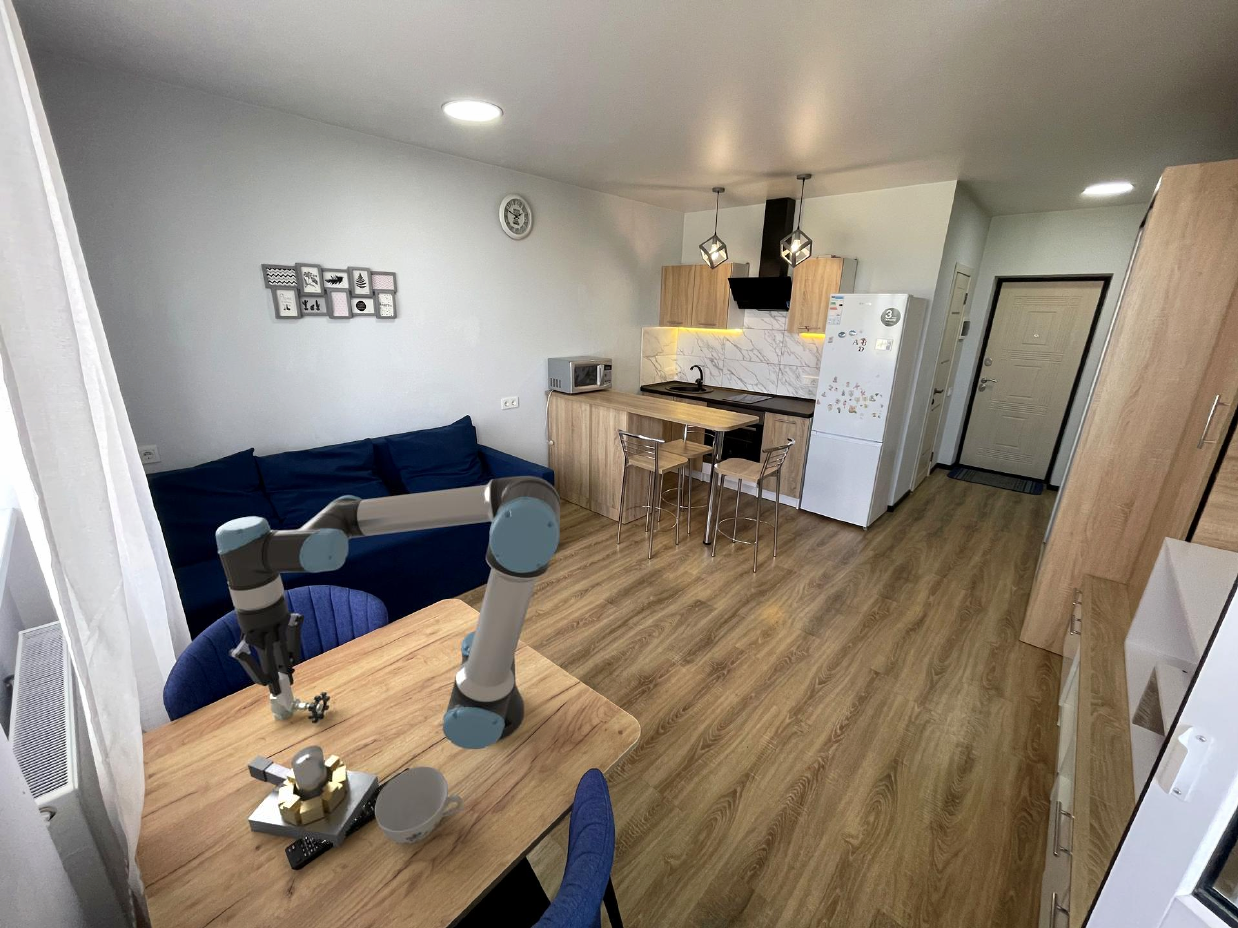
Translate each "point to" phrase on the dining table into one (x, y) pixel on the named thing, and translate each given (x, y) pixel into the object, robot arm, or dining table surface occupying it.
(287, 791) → the grey bar gold ring
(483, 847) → the dining table surface
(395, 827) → the teacup
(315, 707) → the valve
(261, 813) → the plate
